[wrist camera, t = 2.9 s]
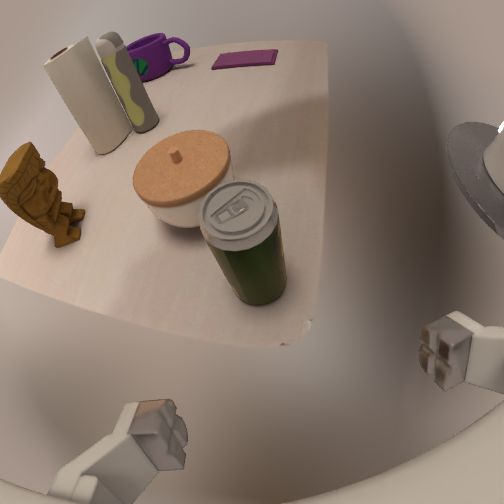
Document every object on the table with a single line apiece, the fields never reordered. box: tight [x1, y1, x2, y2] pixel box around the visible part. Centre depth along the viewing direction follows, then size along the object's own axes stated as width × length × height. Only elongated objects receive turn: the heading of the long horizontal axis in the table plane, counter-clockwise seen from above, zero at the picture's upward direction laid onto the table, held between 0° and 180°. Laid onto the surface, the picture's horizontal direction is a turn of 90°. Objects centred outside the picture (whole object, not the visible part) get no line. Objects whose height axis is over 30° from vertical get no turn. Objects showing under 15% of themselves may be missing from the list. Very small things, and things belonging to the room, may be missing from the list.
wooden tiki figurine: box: [0, 142, 85, 248], centre depth 31 cm, size 7×6×15 cm
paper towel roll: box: [44, 37, 133, 154], centre depth 38 cm, size 7×6×21 cm
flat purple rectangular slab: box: [211, 49, 278, 70], centre depth 56 cm, size 14×9×1 cm, turn 81°
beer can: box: [199, 179, 287, 305], centre depth 24 cm, size 5×5×12 cm
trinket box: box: [133, 130, 234, 228], centre depth 31 cm, size 11×11×9 cm
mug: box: [126, 33, 190, 81], centre depth 56 cm, size 17×11×10 cm, turn 77°
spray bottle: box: [95, 32, 158, 132], centre depth 39 cm, size 5×5×20 cm
